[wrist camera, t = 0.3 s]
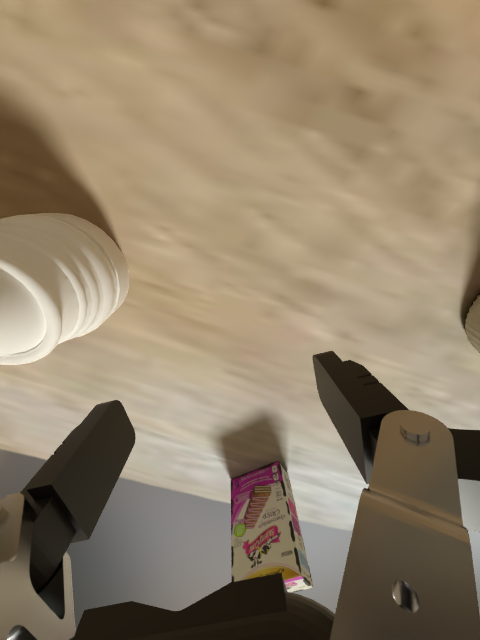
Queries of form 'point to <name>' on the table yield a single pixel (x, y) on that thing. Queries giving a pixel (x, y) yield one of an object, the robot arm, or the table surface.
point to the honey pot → (55, 282)
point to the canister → (474, 324)
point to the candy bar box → (267, 529)
